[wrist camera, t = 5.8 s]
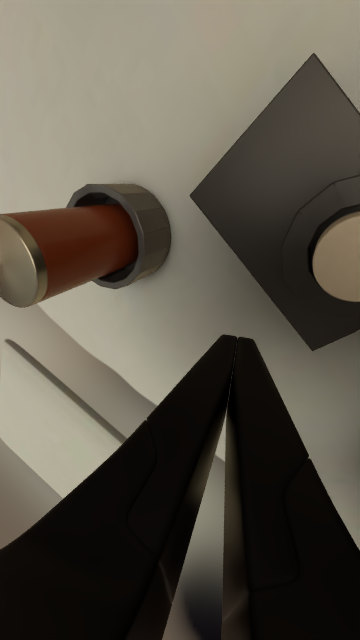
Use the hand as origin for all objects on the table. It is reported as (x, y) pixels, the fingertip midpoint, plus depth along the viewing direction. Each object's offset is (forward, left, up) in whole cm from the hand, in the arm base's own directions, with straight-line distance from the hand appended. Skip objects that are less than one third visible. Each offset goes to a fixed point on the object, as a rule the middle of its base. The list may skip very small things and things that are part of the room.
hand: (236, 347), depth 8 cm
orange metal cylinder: (+9, +8, -11) cm, 16 cm away
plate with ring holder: (+1, -2, -12) cm, 12 cm away
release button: (-1, -3, -9) cm, 9 cm away
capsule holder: (+9, +8, -12) cm, 17 cm away
